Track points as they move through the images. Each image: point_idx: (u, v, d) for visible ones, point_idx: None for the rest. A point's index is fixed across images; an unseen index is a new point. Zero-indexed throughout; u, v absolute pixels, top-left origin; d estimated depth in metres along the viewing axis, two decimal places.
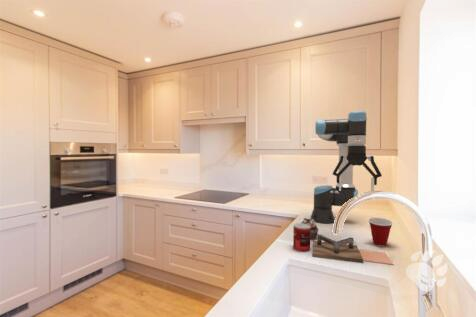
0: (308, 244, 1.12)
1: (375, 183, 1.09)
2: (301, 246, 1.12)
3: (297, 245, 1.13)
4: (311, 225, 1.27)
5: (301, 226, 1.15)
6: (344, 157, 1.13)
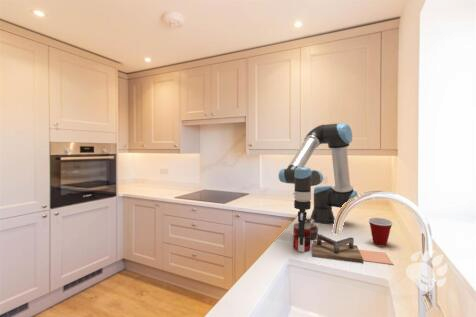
0: (308, 244, 1.12)
1: (299, 243, 1.11)
2: None
3: (297, 245, 1.13)
4: (311, 225, 1.27)
5: None
6: None
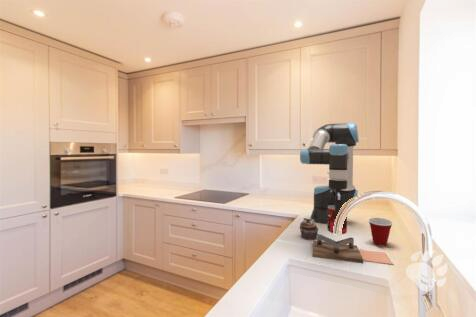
0: (345, 226, 1.04)
1: None
2: None
3: (332, 228, 1.05)
4: (311, 225, 1.27)
5: None
6: None
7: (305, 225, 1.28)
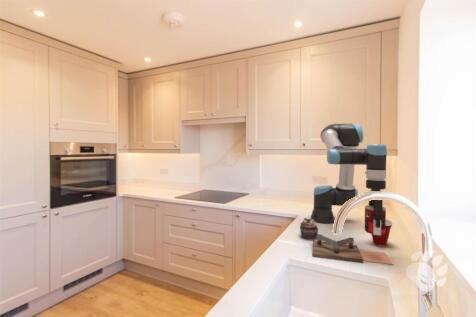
0: (384, 227, 1.03)
1: (376, 225, 1.01)
2: None
3: (371, 229, 1.04)
4: (311, 225, 1.27)
5: None
6: None
7: (305, 225, 1.28)
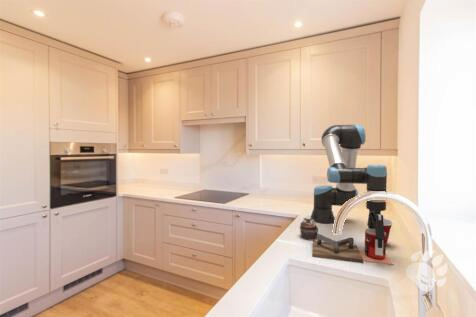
0: (384, 252, 1.03)
1: (377, 245, 0.99)
2: None
3: (371, 253, 1.04)
4: (311, 225, 1.27)
5: None
6: None
7: (305, 225, 1.28)
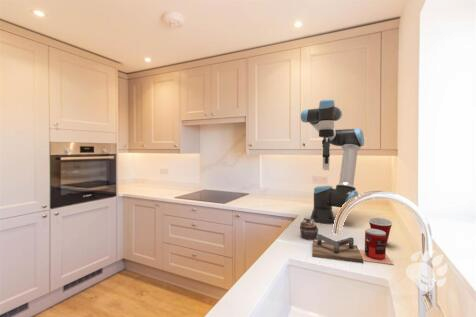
0: (384, 252, 1.03)
1: (325, 162, 1.22)
2: (376, 254, 1.03)
3: (371, 253, 1.04)
4: (311, 225, 1.27)
5: (375, 232, 1.06)
6: None
7: (305, 225, 1.28)
